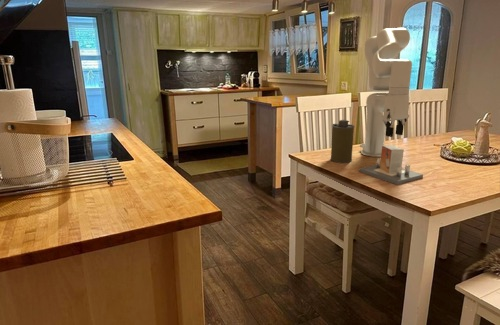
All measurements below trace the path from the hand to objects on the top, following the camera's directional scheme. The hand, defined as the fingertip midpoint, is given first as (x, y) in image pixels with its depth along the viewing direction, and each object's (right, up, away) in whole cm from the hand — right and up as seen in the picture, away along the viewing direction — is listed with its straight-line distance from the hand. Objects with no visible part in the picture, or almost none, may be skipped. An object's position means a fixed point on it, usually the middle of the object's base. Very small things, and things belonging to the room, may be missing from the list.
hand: (394, 135), depth 142 cm
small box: (0, -15, +5) cm, 16 cm away
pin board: (0, -17, +5) cm, 17 cm away
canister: (-15, -10, +28) cm, 33 cm away
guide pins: (0, -15, +5) cm, 16 cm away
